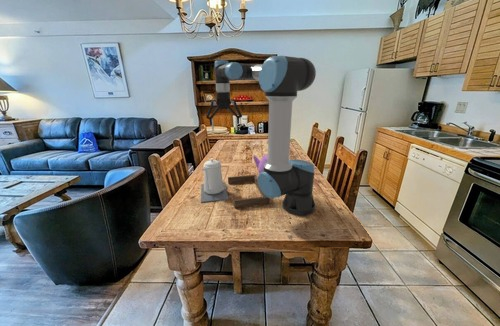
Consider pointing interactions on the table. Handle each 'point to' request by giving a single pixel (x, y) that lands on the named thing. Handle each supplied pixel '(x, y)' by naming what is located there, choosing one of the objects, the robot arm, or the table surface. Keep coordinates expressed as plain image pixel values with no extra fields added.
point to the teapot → (260, 162)
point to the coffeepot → (212, 177)
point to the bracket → (248, 201)
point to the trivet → (213, 195)
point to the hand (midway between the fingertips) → (224, 130)
